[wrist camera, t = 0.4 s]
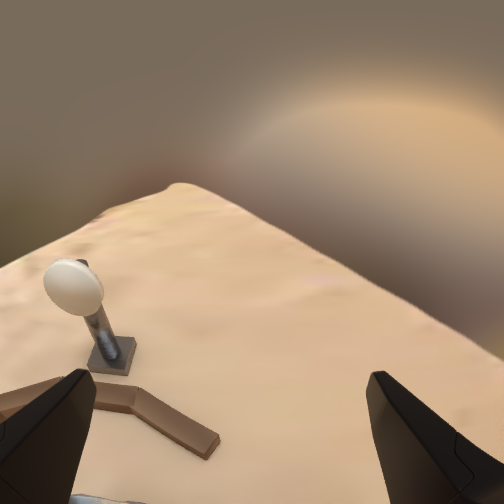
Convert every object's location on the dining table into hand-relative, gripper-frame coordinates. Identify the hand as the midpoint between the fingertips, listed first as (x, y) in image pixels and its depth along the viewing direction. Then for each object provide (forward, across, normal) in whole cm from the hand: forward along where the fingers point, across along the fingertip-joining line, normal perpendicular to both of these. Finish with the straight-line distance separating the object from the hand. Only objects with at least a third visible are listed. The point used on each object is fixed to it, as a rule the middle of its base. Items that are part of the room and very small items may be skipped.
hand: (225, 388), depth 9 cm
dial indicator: (+15, +13, +13) cm, 24 cm away
